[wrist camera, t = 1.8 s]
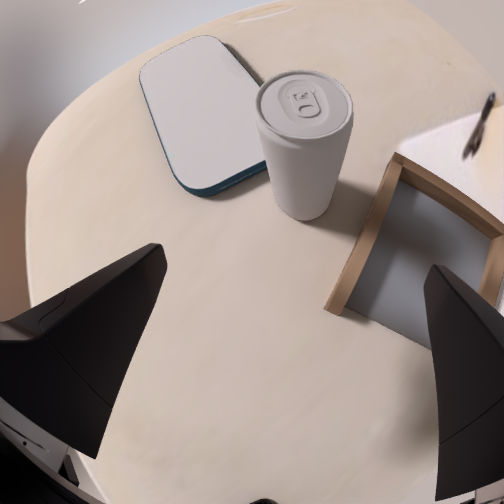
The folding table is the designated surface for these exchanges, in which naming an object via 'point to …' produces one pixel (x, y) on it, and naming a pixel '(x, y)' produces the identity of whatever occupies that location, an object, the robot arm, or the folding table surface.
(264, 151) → the beverage can
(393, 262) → the bay
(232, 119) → the external hard drive
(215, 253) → the folding table surface
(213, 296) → the folding table surface
